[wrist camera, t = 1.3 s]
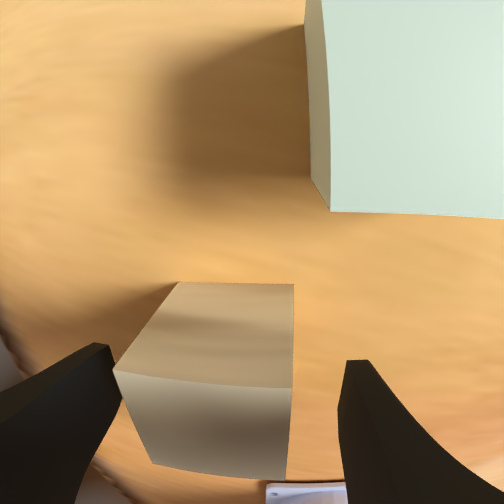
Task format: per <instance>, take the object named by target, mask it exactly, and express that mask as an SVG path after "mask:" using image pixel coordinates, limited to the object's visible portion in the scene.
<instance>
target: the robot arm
mask: <svg viewBox="0 0 504 504" xmlns="http://www.w3.org/2000/svg"><path fill="white" fill-rule="evenodd" d="M114 367H115V362H114V359H113V356H112V353H111V350H110V347H109V345H106V344H100V343H92V344H90V345H88V346H86V347H84V348H82V349H80V350H78V351H76V352H75V353H73V354H71V355H69V356H68V357H66V358H64V359H62V360H61V361H59V362H57V363H55V364H54V365H52V366H50V367H48V368H47V369H45V370H43V371H42V372H40V373H38V374H36V375H34V376H32V377H30V378H28V379H26V380H25V381H23V382H21V383H19V384H17V385H15V386H13V387H11V388H9V389H6V390H4V391H2V392H0V504H74V502H75V499H76V496H77V493H78V490H79V487H80V484H81V482H82V479H83V476H84V474H85V472H86V470H87V468H88V465H89V463H90V462H91V460H92V458H93V456H94V454H95V452H96V451H97V449H98V447H99V445H100V443H101V442H102V440H103V438H104V436H105V434H106V433H107V431H108V429H109V427H110V425H111V424H112V422H113V420H114V418H115V416H116V414H117V411H118V409H119V406H120V403H121V401H122V398H123V397H122V394H121V392H120V389H119V386H118V384H117V381H116V378H115V376H114V373H113V370H112V369H113V368H114ZM337 410H338V435H339V444H340V451H341V457H342V464H343V470H344V477H345V482H335V483H270V484H268V485H266V504H504V492H502V491H501V490H499V489H497V488H495V487H494V486H492V485H491V484H489V483H488V482H486V481H485V480H483V479H482V478H480V477H479V476H477V475H476V474H475V473H473V472H472V471H470V470H469V469H467V468H466V467H465V466H464V465H462V464H461V463H460V462H459V461H457V460H456V459H455V458H454V457H453V456H451V455H450V454H449V453H448V452H447V451H446V450H445V449H444V448H442V447H441V446H440V445H439V444H438V443H437V442H436V441H435V440H434V439H433V438H432V437H431V436H430V435H429V434H428V433H427V432H426V430H425V429H424V428H423V427H422V426H421V425H420V424H419V423H418V422H417V421H416V420H415V418H414V417H413V416H412V415H411V414H410V413H409V411H408V410H407V409H406V408H405V407H404V405H403V404H402V403H401V402H400V401H399V399H398V398H397V397H396V396H395V394H394V393H393V392H392V391H391V389H390V388H389V387H388V385H387V384H386V383H385V381H384V380H383V379H382V377H381V376H380V375H379V373H378V372H377V371H376V369H375V368H374V367H373V365H372V364H371V363H370V361H369V360H347V362H346V368H345V373H344V379H343V384H342V389H341V394H340V399H339V404H338V409H337Z"/></svg>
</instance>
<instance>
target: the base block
mask: <svg viewBox="0 0 504 504" xmlns="http://www.w3.org/2000/svg"><path fill="white" fill-rule="evenodd" d="M304 31H305V45H306V59H307V76H308V95H309V121H310V164H311V179H312V181H313V183H314V184H315V186H316V188H317V189H318V191H319V193H320V195H321V196H322V198H323V200H324V201H325V203H326V205H327V207H328V208H329V210H330V212H369V213H401V214H426V215H446V216H464V217H480V218H494V219H504V0H306V7H305V18H304Z"/></svg>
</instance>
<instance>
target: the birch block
mask: <svg viewBox="0 0 504 504" xmlns="http://www.w3.org/2000/svg"><path fill="white" fill-rule="evenodd" d="M293 332H294V284H245V283H203V282H178V283H177V285H176V286H175V287H174V289H173V290H172V291H171V292H170V294H169V295H168V296H167V298H166V299H165V300H164V301H163V303H162V304H161V305H160V307H159V308H158V309H157V311H156V312H155V313H154V314H153V316H152V317H151V318H150V320H149V321H148V322H147V324H146V325H145V326H144V328H143V329H142V330H141V332H140V333H139V334H138V336H137V337H136V338H135V340H134V341H133V342H132V344H131V345H130V346H129V348H128V349H127V350H126V352H125V353H124V354H123V356H122V357H121V358H120V360H119V361H118V363H117V364H116V365H115V367H114V368H113V369H112V370H113V373H114V376H115V378H116V381H117V384H118V386H119V389H120V392H121V394H122V397H123V399H124V402H125V404H126V407H127V409H128V411H129V414H130V416H131V418H132V421H133V423H134V425H135V427H136V430H137V432H138V434H139V436H140V438H141V441H142V443H143V445H144V447H145V449H146V451H147V453H148V455H149V457H150V459H151V461H152V463H153V464H157V465H162V466H166V467H171V468H176V469H181V470H187V471H192V472H198V473H205V474H212V475H219V476H227V477H237V478H247V479H261V480H283V481H285V477H286V466H287V455H288V443H289V430H290V416H291V401H292V380H293Z"/></svg>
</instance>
